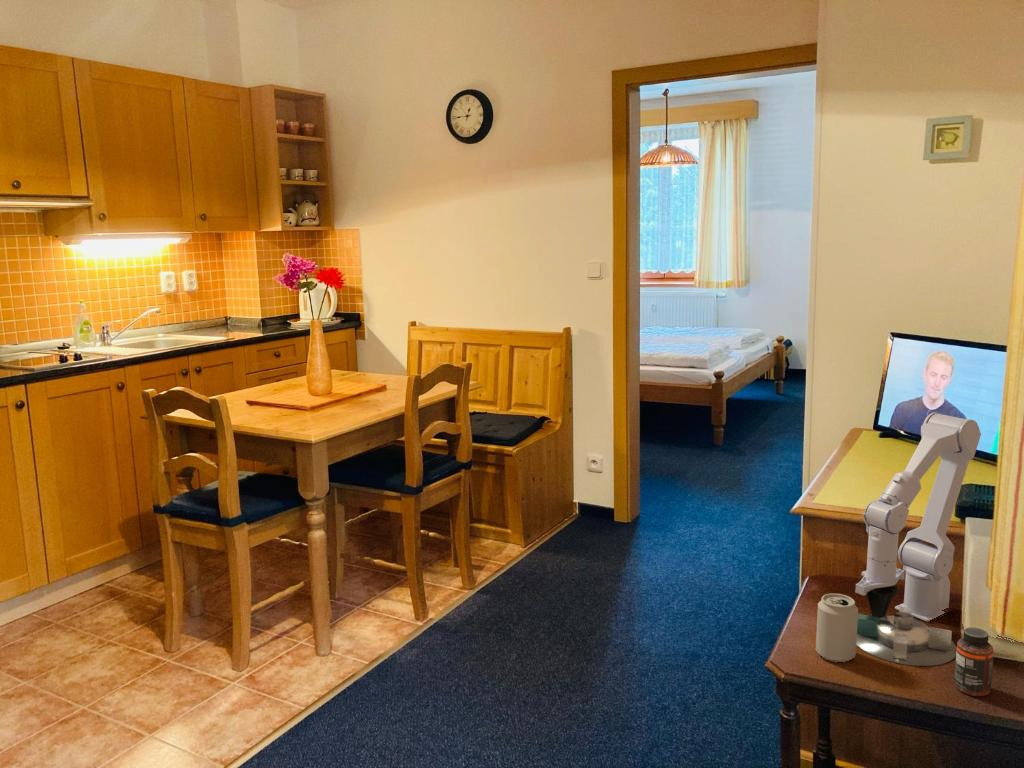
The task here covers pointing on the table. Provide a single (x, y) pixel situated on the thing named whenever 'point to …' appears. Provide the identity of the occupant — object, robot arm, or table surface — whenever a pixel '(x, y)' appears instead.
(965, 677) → the supplement bottle
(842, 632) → the can
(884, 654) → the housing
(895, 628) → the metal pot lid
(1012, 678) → the table surface
